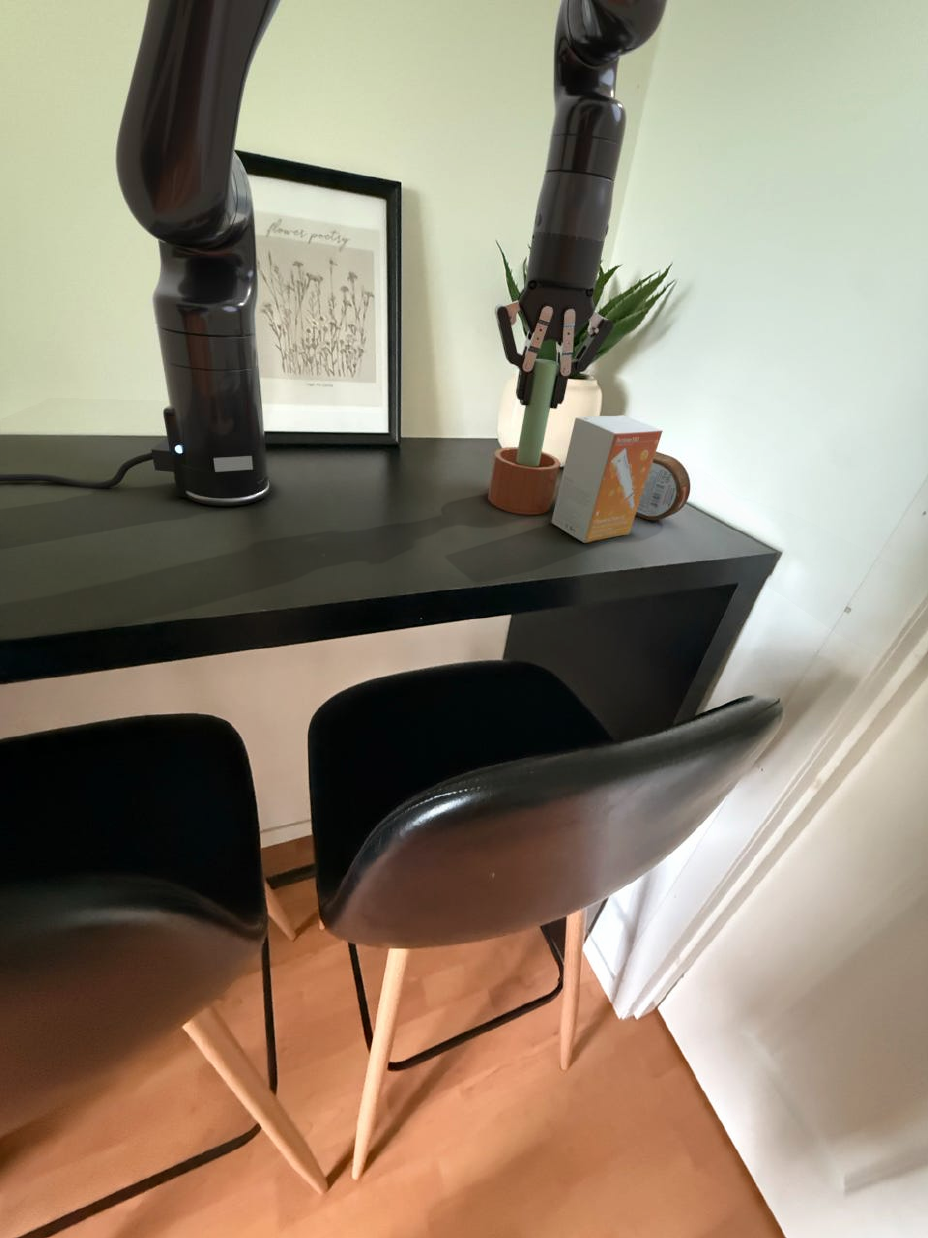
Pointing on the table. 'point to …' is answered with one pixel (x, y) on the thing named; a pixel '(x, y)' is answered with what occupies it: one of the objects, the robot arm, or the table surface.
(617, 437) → the small box
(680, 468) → the tin
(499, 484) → the holder
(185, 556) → the table surface
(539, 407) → the candle
